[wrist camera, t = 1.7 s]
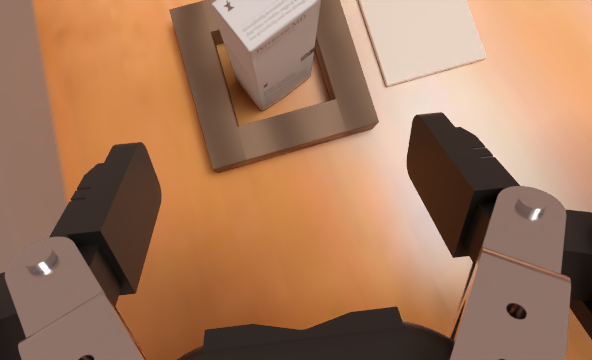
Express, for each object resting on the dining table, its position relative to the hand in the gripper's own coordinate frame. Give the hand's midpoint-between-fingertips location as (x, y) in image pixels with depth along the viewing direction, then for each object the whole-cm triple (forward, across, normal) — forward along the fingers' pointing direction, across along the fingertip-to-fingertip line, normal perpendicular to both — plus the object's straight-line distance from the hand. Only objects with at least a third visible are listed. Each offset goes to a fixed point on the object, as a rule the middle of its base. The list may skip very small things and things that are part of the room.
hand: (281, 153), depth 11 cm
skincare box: (+25, 0, +8) cm, 26 cm away
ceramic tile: (+27, -15, +5) cm, 31 cm away
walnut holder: (+25, 0, +8) cm, 26 cm away
